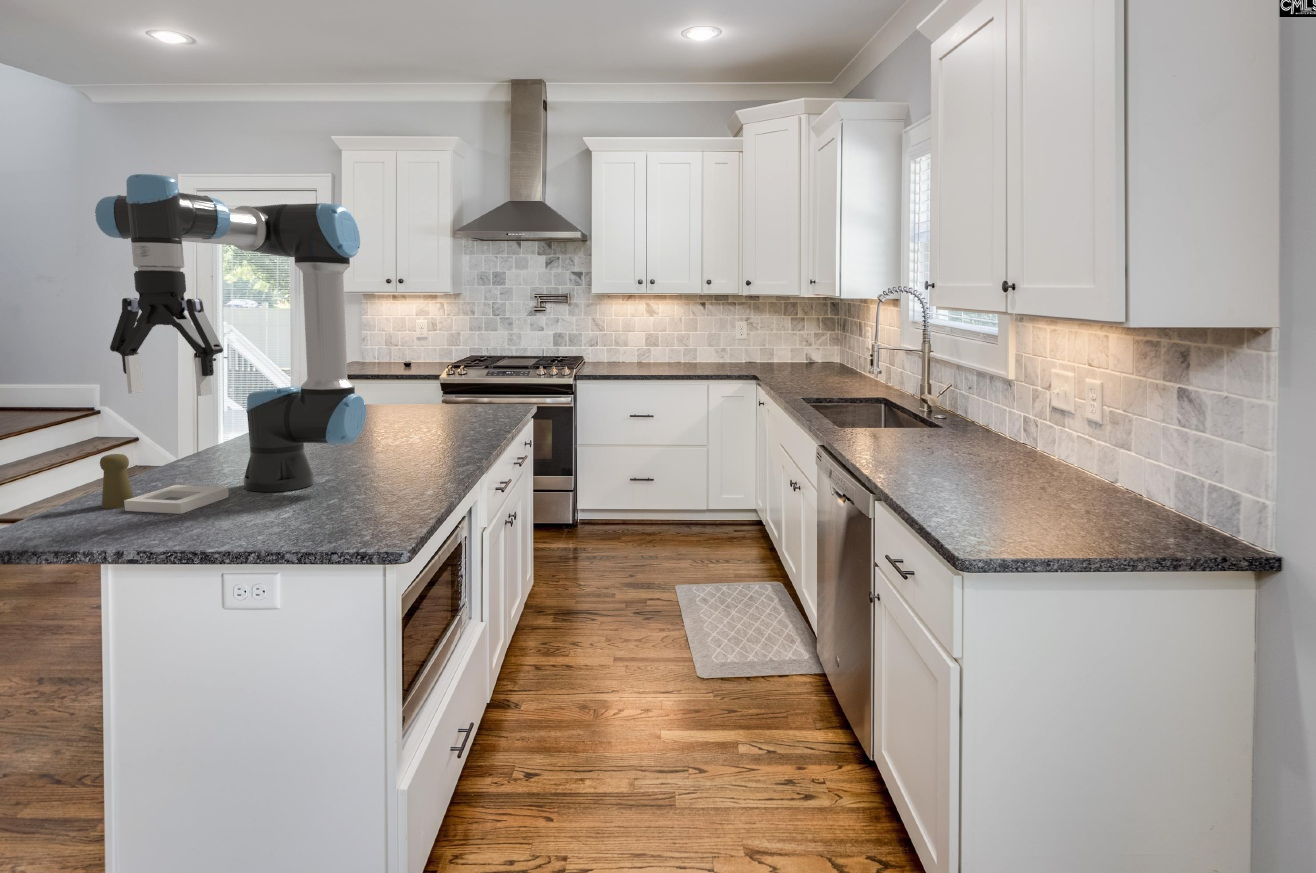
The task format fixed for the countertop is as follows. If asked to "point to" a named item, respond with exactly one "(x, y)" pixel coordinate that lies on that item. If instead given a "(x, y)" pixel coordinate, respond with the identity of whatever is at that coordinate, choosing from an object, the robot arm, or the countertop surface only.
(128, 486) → the cork
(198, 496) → the socket plate
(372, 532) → the countertop surface
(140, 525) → the countertop surface
